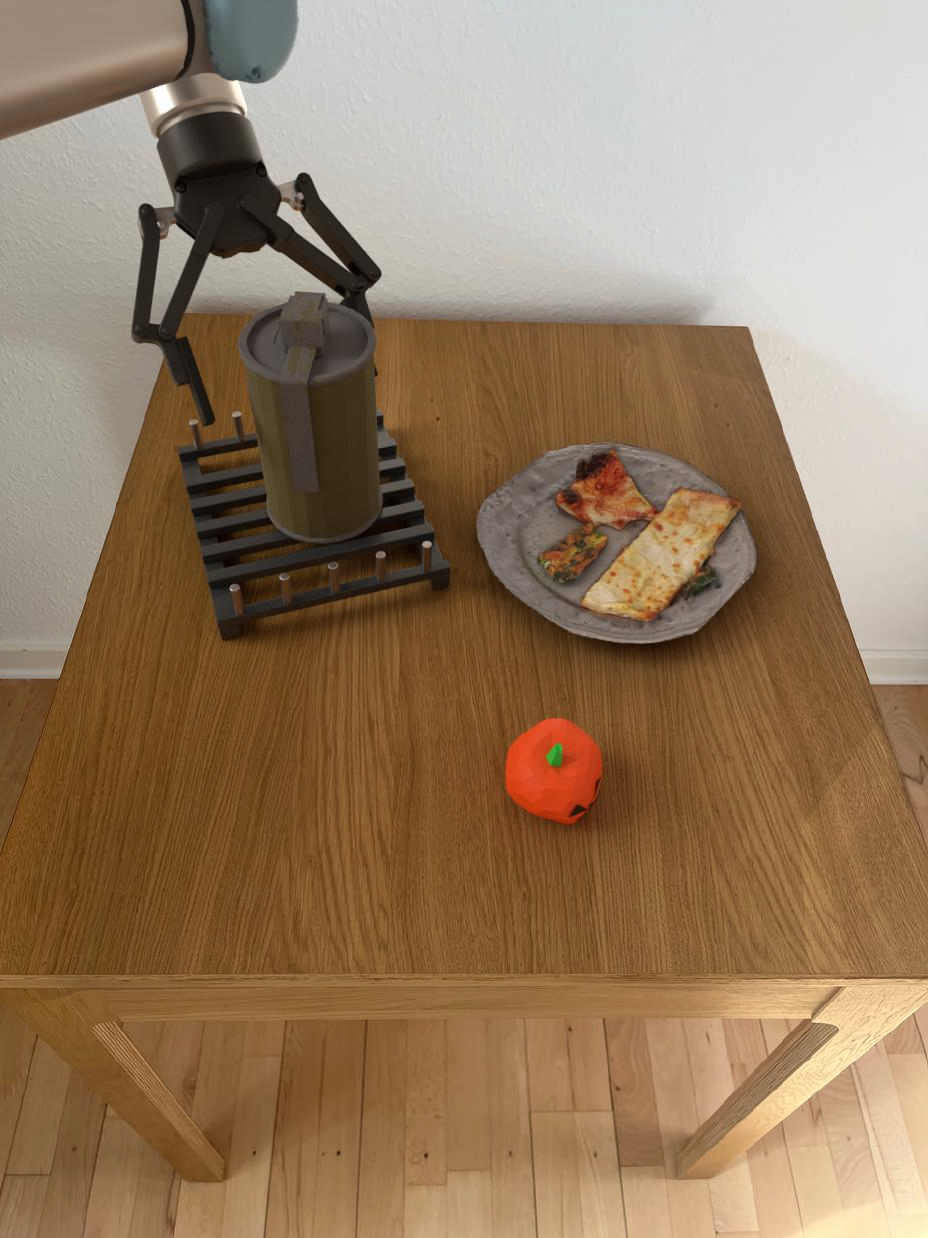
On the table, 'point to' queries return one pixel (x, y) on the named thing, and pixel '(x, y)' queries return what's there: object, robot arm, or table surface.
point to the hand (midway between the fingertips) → (292, 401)
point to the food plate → (617, 542)
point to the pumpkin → (554, 771)
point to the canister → (315, 416)
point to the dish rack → (216, 552)
